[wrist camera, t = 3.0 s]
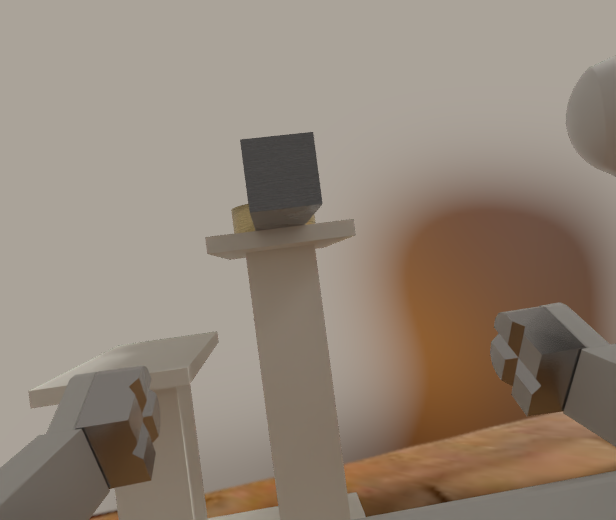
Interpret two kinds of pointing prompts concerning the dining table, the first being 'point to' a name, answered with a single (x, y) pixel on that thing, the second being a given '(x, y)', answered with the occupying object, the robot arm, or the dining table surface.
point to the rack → (276, 385)
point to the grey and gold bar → (279, 183)
